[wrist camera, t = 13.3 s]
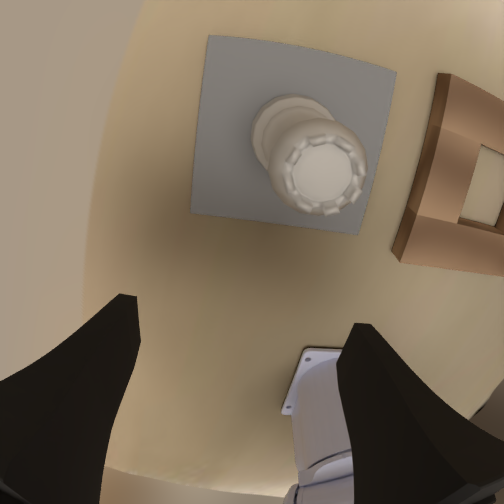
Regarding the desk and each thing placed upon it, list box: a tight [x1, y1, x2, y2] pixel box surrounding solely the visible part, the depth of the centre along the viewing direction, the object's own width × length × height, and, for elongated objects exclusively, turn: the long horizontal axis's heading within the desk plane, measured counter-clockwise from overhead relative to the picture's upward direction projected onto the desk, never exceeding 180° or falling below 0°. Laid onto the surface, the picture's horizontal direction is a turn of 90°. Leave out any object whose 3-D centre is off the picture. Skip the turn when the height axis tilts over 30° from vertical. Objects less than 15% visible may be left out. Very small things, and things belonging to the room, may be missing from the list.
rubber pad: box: [190, 35, 397, 235], centre depth 16 cm, size 10×10×1 cm
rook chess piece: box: [250, 94, 368, 217], centre depth 12 cm, size 4×4×8 cm
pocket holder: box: [392, 73, 504, 277], centre depth 17 cm, size 12×12×2 cm
